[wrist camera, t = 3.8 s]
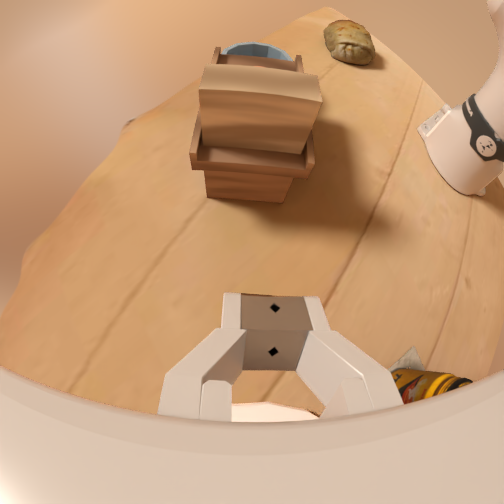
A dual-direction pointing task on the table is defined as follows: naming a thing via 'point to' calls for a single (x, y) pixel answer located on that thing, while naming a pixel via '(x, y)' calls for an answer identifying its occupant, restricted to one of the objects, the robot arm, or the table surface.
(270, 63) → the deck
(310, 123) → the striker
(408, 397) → the condiment
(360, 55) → the pastry
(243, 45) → the cup
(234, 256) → the table surface
